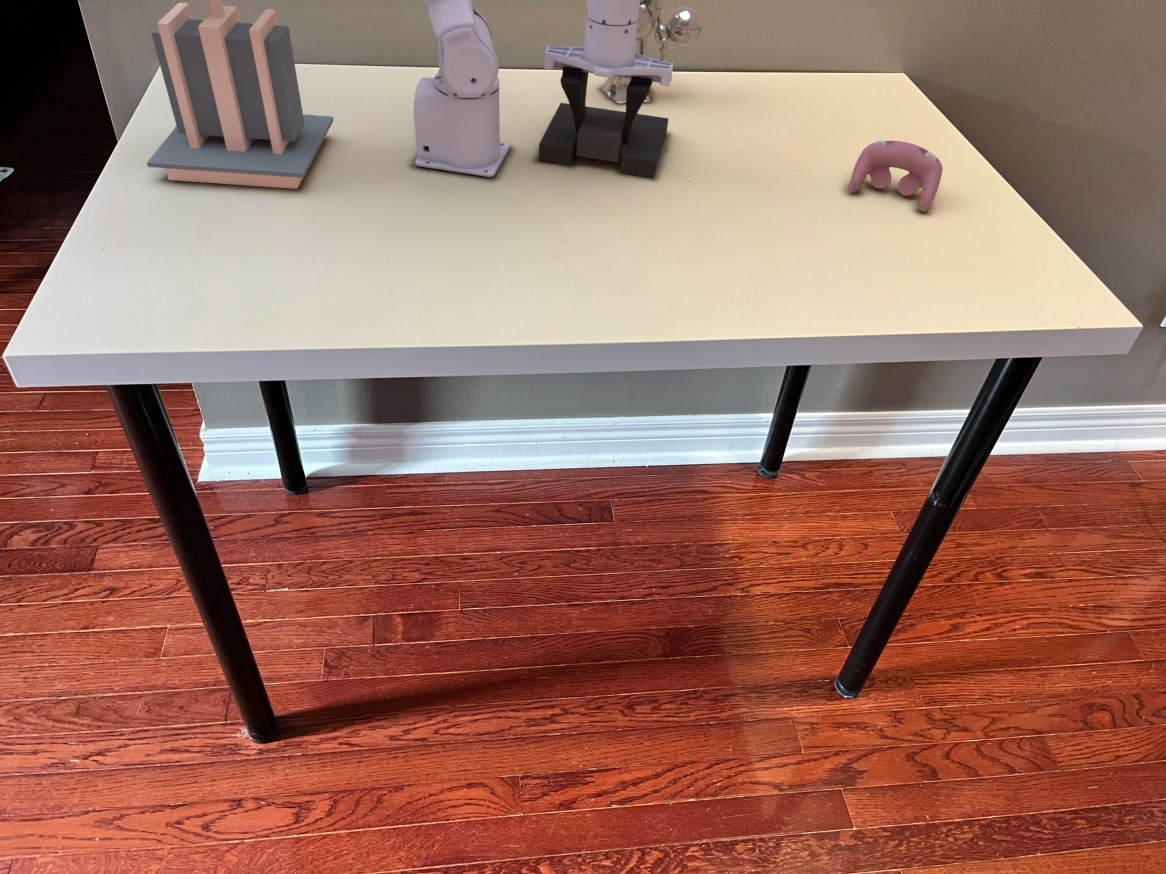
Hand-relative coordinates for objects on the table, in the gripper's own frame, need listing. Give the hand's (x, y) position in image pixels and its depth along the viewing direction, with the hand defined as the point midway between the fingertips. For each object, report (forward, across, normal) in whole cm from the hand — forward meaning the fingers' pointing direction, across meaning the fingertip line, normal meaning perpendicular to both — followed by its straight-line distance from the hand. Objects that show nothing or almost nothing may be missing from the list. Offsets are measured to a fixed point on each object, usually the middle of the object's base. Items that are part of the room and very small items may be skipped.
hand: (602, 135), depth 106 cm
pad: (+1, 0, 0) cm, 1 cm away
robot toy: (+3, +2, +19) cm, 20 cm away
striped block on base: (+3, -39, -14) cm, 41 cm away
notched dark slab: (+3, 0, +2) cm, 4 cm away
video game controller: (+3, +35, +1) cm, 35 cm away
